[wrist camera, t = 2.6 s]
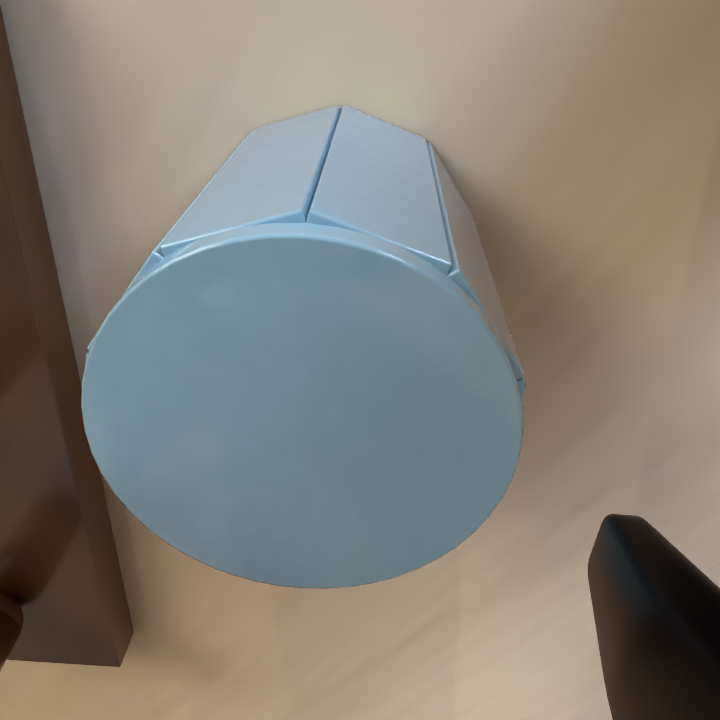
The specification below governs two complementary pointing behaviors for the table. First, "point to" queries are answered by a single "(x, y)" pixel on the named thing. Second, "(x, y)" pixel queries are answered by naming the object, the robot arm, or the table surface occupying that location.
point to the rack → (45, 442)
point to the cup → (311, 364)
